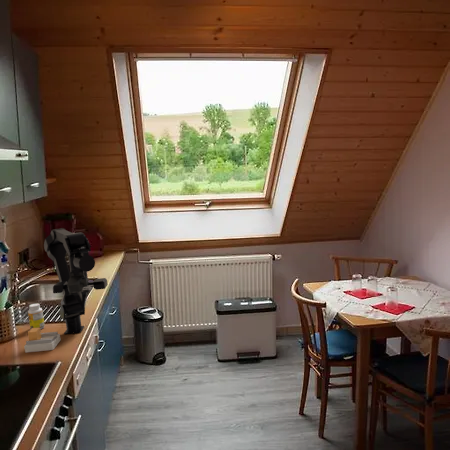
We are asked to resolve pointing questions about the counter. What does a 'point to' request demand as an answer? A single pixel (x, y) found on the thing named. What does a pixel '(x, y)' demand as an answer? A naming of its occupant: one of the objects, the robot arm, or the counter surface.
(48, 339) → the grey stepped platform
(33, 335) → the orange block
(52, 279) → the counter surface
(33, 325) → the supplement bottle
